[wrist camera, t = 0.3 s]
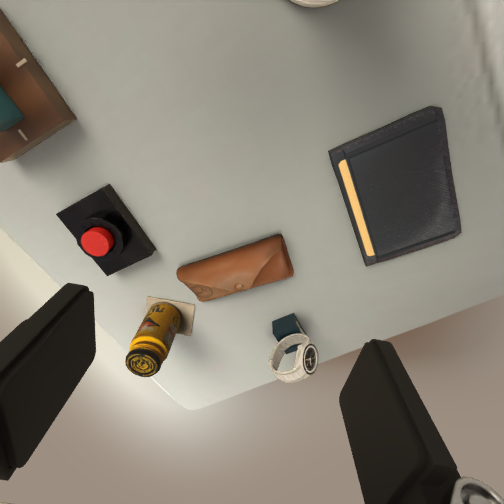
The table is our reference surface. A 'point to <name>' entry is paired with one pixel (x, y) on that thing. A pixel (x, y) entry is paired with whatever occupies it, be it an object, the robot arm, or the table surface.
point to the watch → (293, 349)
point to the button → (97, 241)
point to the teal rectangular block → (8, 112)
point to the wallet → (399, 186)
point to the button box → (108, 229)
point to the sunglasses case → (238, 269)
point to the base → (27, 96)
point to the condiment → (158, 335)
